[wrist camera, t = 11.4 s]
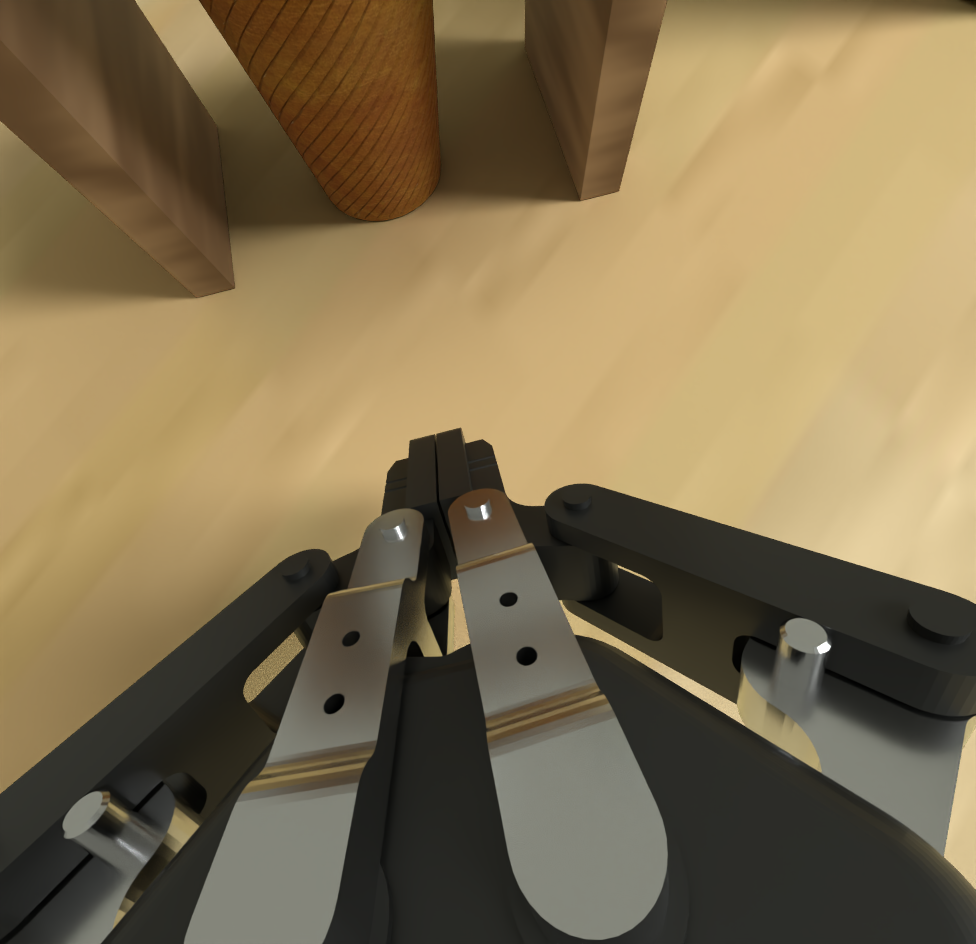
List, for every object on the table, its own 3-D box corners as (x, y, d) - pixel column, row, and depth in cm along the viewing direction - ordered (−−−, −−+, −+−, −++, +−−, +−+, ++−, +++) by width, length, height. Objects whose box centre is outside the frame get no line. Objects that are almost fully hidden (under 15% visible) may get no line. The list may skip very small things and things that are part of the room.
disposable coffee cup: (260, 202, 24) (21, -154, 13) (364, 81, 26) (239, -331, 14) (404, 278, 22) (282, -54, 11) (506, 143, 24) (494, -270, 12)
